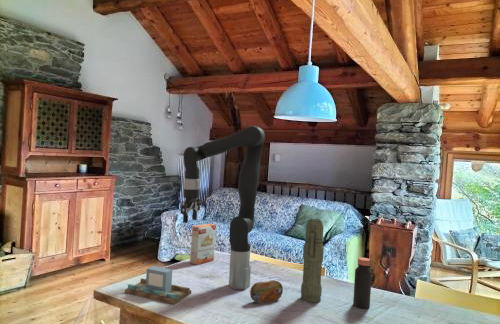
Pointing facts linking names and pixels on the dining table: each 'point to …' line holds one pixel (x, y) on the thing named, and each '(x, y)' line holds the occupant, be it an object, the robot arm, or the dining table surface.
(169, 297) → the brown flat frame
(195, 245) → the cracker box
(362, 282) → the bottle
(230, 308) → the dining table surface
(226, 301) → the dining table surface
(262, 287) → the tin
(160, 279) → the carton
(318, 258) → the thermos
